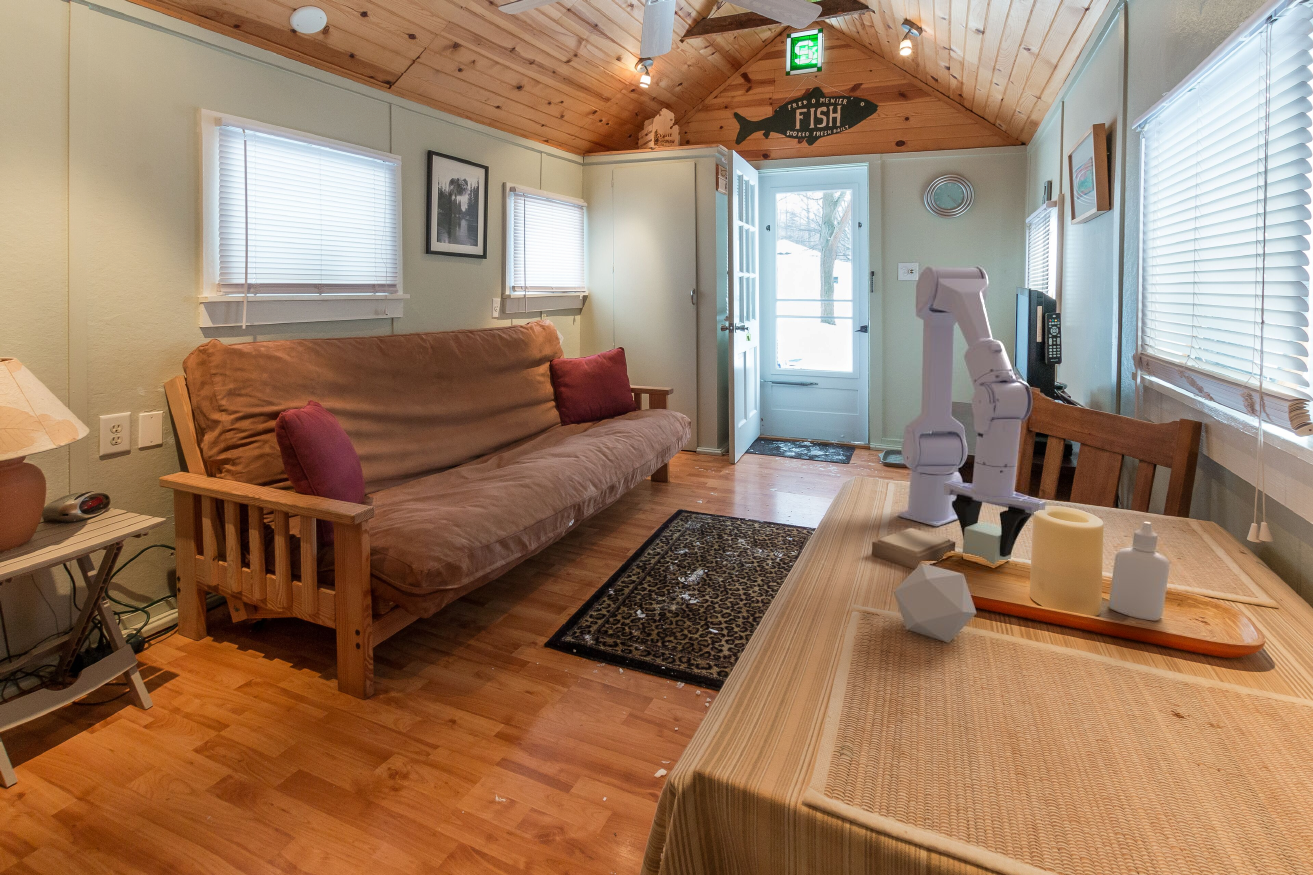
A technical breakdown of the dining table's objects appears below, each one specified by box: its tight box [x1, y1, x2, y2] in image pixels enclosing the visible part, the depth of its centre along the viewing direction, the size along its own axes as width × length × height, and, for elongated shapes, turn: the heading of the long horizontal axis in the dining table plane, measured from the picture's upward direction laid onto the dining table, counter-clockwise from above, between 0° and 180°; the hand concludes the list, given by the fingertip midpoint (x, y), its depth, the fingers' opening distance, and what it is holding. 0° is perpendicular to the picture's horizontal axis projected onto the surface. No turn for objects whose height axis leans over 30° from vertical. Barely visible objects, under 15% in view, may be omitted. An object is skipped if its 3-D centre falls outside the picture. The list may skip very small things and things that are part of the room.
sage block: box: [961, 521, 1012, 564], centre depth 109 cm, size 5×5×5 cm
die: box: [892, 563, 977, 644], centre depth 85 cm, size 8×9×10 cm
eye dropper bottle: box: [1108, 521, 1171, 622], centre depth 90 cm, size 4×6×12 cm
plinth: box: [871, 527, 956, 570], centre depth 111 cm, size 10×8×3 cm
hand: (987, 549), depth 109 cm, fingers closed on sage block, 5 cm apart
